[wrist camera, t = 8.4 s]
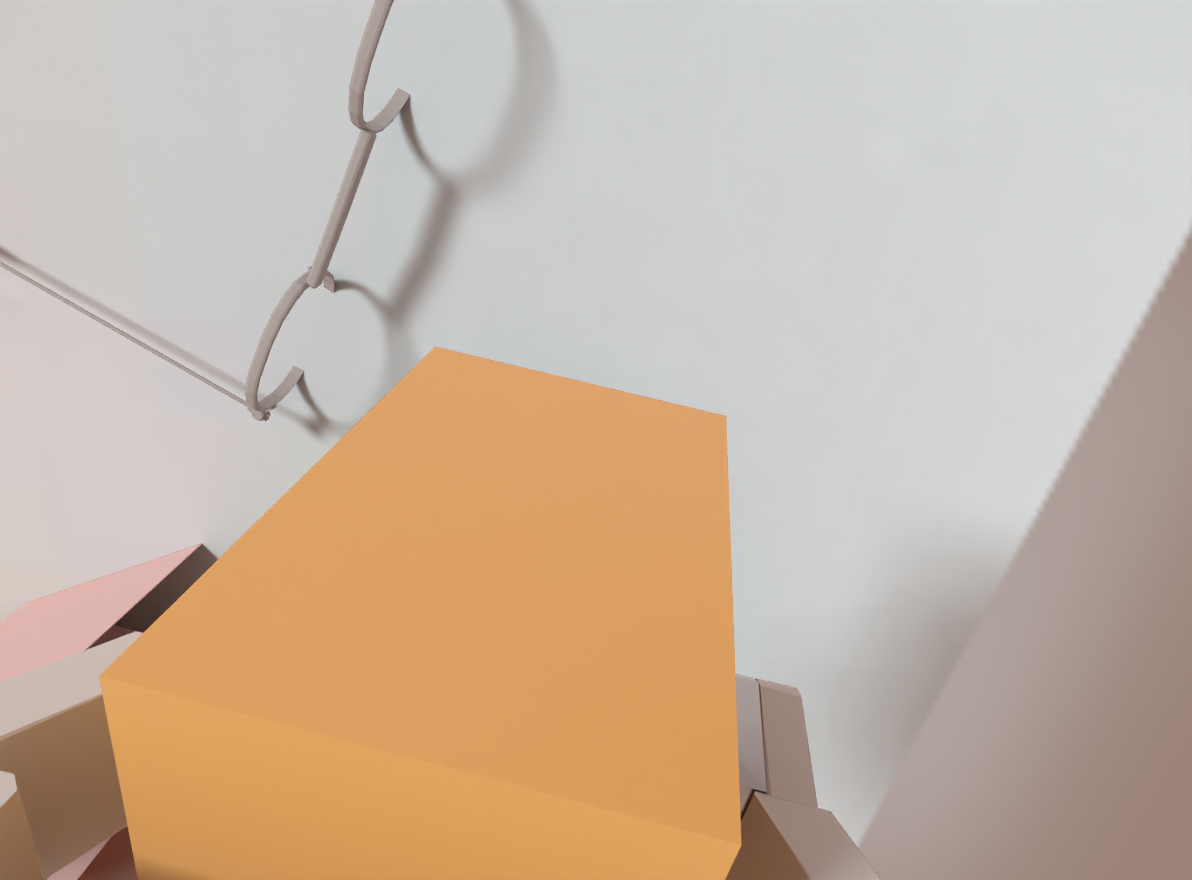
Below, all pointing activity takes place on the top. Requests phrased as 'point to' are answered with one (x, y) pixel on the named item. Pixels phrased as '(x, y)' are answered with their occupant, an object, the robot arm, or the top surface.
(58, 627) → the greeting card
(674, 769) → the chute block
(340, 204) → the eyeglasses
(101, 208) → the top surface
